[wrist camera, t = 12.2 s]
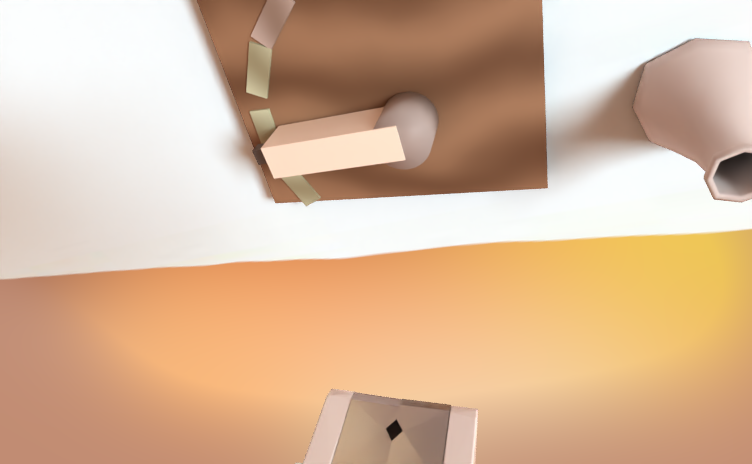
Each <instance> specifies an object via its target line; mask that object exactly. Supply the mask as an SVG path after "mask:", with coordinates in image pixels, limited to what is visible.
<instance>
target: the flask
mask: <svg viewBox="0 0 752 464" xmlns="http://www.w3.org/2000/svg"><path fill="white" fill-rule="evenodd" d="M632 108H633V110H634V112H635V114H636V116H637V118H638V120H639V121H640V123H641V125H642V127H643V129H644V131H645V133H646V135H647V137H648V139H649V141H651V142H653V143H655V144H657V145H659V146H662V147H664V148H667V149H669V150H672V151H674V152H676V153H678V154H680V155H682V156H684V157H686V158H688V159H690V160H693V161H695V162H696V163H697V164H698V165H699V166H700V167H701V168H702V169H703V170H704V171H705V175H704V180H705V182H706V184H707V186H708V188H709V190H710V192H711V195H712V197H713V198H714V199H715V200H724V201H734V202H744V201H747V200H750V199H752V47H751V45H750V42H749V41H735V40H717V39H699V38H695V39H693V40H691V41H690V42H688V43H686V44H684V45H682V46H680V47H678V48H676V49H674V50H672V51H670V52H668V53H666V54H664V55H662V56H660V57H658V58H657V59H655V60H653V61H651V62H649V63H647V64H645V67H644V71H643V74H642V77H641V80H640V84H639V87H638V90H637V93H636V96H635V100H634V103H633V106H632Z"/></svg>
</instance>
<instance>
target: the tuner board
mask: <svg viewBox="0 0 752 464" xmlns="http://www.w3.org/2000/svg"><path fill="white" fill-rule="evenodd" d="M197 2H198V4H199V7H200V10H201V12H202V15H203V17H204V20H205V23H206V25H207V28H208V30H209V33H210V35H211V38H212V41H213V43H214V46H215V48H216V51H217V54H218V56H219V59H220V61H221V64H222V66H223V69H224V72H225V74H226V77H227V79H228V82H229V85H230V87H231V90H232V92H233V95H234V97H235V100H236V103H237V105H238V108H239V110H240V113H241V116H242V118H243V121H244V123H245V126H246V128H247V131H248V134H249V136H250V139H251V141H252V144H253V147H254V148H255V147H256V146H257V144H262V143H265V142H266V141H267V140H268V139H269V137H270V136H271V135H272V134H273V132H274V131H275V130H276V129H277V128H278V126H281V125H287V124H292V123H298V122H303V121H309V120H315V119H320V118H326V117H331V116H337V115H342V114H348V113H353V112H359V111H365V110H370V109H376V108H381V107H385V105H386V103H387V102H388V100H389V99H390V98H392V97H393V96H395V95H396V94H399V93H402V92H415V93H419V94H421V95H423V96H425V97H426V98H428V99H429V100H430V101H431V102H432V103H433V104H434V106H435V107H436V110H437V112H438V117H439V123H438V128H437V131H436V134H435V138H434V141H433V144H432V148H431V151H430V154H429V156H428V158H427V159H426V160H425V161H424V162H423V163H422V164H421V165H419V166H417V167H415V168H412V169H396V168H393V167H390V166H388V165H386V164H385V163H382V164H375V165H368V166H361V167H354V168H346V169H339V170H332V171H325V172H318V173H311V174H304V175H297V176H290V177H282V178H275V179H274V177H273V175H272V173H271V171H270V169H269V166H268V164H261V167H262V170H263V172H264V175H265V177H266V180H267V183H268V185H269V188H270V190H271V193H272V196H273V198H274V201H275V203H287V202H303V203H304V204H305V205H306V206H307V205H309V204H311V203H313V202H315V201H324V200H342V199H360V198H378V197H396V196H414V195H432V194H451V193H469V192H487V191H505V190H523V189H541V188H548V184H547V151H546V117H545V83H544V49H543V16H542V0H197Z"/></svg>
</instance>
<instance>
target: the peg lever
mask: <svg viewBox="0 0 752 464" xmlns="http://www.w3.org/2000/svg"><path fill="white" fill-rule="evenodd" d="M438 123H439V117H438V112H437V110H436V107H435V106H434V104H433V103H432V102H431V101H430V100H429V99H428V98H426V97H425V96H423V95H421V94H419V93H415V92H402V93H399V94H396V95H395V96H393V97H392V98H390V99H389V100H388V102H387V103H386V105H385V107H381V108H376V109H370V110H365V111H359V112H353V113H348V114H342V115H337V116H331V117H326V118H320V119H315V120H309V121H303V122H298V123H292V124H287V125H281V126H278V128H277V129H276V130H275V131H274V132H273V134H272V135H271V136H270V137H269V139H268V140H267V141H266V142H265V143H262V144H257V146H256V147H255V148H254V149H253V153H254V156H255V158H256V160H257V162H258V164H259V165H261V164H268V166H269V169H270V171H271V173H272V175H273V177H274V179H275V178H282V177H290V176H297V175H304V174H311V173H318V172H325V171H332V170H339V169H346V168H354V167H361V166H368V165H375V164H382V163H385V164H386V165H388V166H390V167H393V168H396V169H412V168H415V167H417V166H419V165H421V164H422V163H423V162H424V161H425V160H426V159H427V158H428V156H429V154H430V151H431V148H432V144H433V141H434V138H435V134H436V131H437V128H438Z"/></svg>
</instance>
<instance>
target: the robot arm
mask: <svg viewBox="0 0 752 464" xmlns="http://www.w3.org/2000/svg"><path fill="white" fill-rule="evenodd" d="M477 419H478V409H472V408H464V407H456V406H451V405H447V404H438V403H431V402H422V401H414V400H406V399H396V398H389V397H382V396H375V395H368V394H362V393H356V392H351V391H344V390H336V389H331V391H330V392H329V394H328V395H327V397H326V399H325V403H324V405H323V408H322V411H321V414H320V416H319V419H318V422H317V425H316V428H315V431H314V433H313V436H312V439H311V442H310V445H309V448H308V450H307V453H306V456H305V459H304V462H303V463H295V464H475V460H476V440H477Z"/></svg>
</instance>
